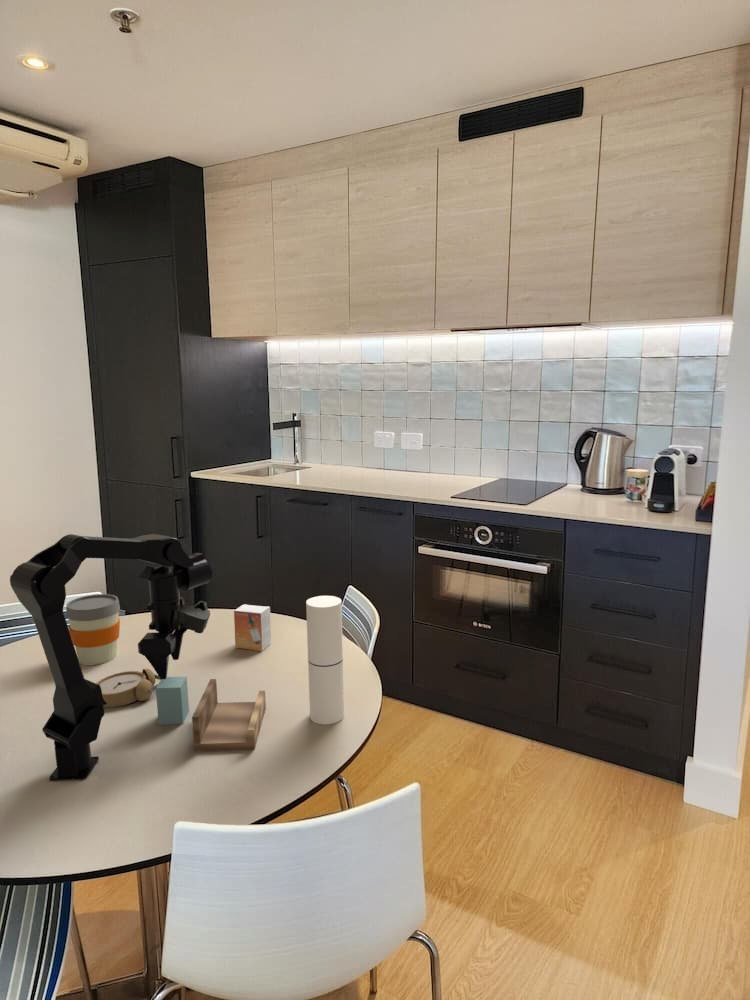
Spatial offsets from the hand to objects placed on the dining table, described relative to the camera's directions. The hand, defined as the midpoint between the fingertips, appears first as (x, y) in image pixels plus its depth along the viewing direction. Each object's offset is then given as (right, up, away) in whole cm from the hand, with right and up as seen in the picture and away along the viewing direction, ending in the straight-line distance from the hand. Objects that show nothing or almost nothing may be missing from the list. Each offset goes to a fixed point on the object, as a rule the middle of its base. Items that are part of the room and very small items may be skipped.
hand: (170, 668), depth 134 cm
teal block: (0, -11, +2) cm, 11 cm away
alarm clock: (-13, -10, +13) cm, 20 cm away
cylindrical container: (+32, -10, +2) cm, 34 cm away
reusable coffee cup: (-29, -6, +33) cm, 44 cm away
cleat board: (+13, -11, -3) cm, 18 cm away
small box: (+10, -4, +39) cm, 40 cm away
